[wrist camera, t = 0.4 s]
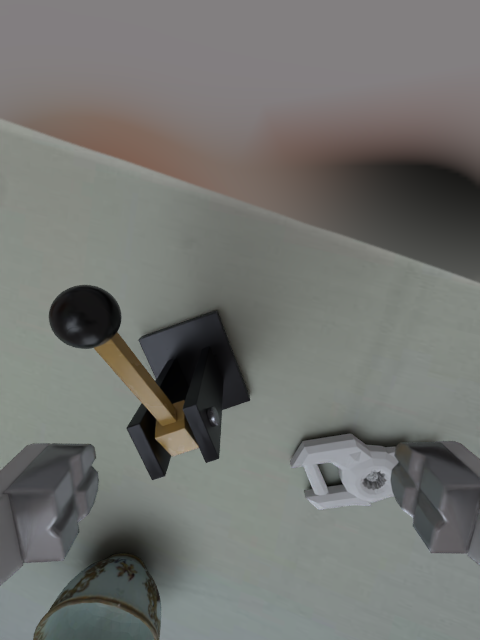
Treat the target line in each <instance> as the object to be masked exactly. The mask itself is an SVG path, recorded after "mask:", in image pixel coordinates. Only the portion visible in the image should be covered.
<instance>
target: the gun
mask: <svg viewBox="0 0 480 640" xmlns="http://www.w3.org/2000/svg"><path fill="white" fill-rule="evenodd" d="M395 449H396V447H383V446H377V445H366V444H364V443H363V442H362V441H360V440H359V439H358V438H356V437H355V436H354V435H353V434H351V433H350V434H344V435H337V436H331V437H325V438H319V439H312V440H306V441H302V443H301V444H300V446H299V448H298V449H297V451H296V452H295V454H294V456H293V457H292V459H291V460H290V465H291V468H295V467H302V466H303V467H304V469H305V472H306V474H307V476H308V479H309V481H310V484H311V486H312V488H313V489H310V490H304V493H305V497H306V498H307V499H308V500H309V501H310V502H311V503H312V504H313V505H314V506H315V507H316V508H317V509H318V510H322V509H329V508H336V507H343V506H350V505H363V506H371V504H370V503H371V502H377V501H379V500H382V499H385V498H388V497H392V496H394V494H393V492H392V486H391V481H390V480H391V472H392V469H393V468H394V467H395V466H396V465H397V463H398V461H397V459H396V458H395V456H394V454H395ZM328 462H331V463H332V464H334V465H335V466H337V467H338V468H339V476H340V479H341V481H342V483H343V485H336V486H330V487H327V486H326V483H325V481H324V479H323V476H322V474H321V472H320V469H319V467H318V465H317V464H322V463H328Z"/></svg>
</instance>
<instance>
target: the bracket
mask: <svg viewBox="0 0 480 640" xmlns="http://www.w3.org/2000/svg"><path fill="white" fill-rule="evenodd" d="M139 342H140V344H141V346H142V349H143V351H144V353H145V355H146V357H147V360H148V362H149V364H150V366H151V369H152V371H153V373H154V375H155V377H156V381H155V382H156V383H157V385H158V386H159V387H160V388H161V390H162V391H163V392H164V394H165V395H166V396H167V398H168V399H169V400H170V402H171V403H172V404H174V403H177V402H180V401H183V400H185V402H184V406H183V409H182V410H183V412H184V414H185V416H186V419H187V421H188V423H189V426H190V428H191V430H192V432H193V435H194V437H195V439H196V441H197V444H198V446H199V448H200V451H201V453H202V455H203V457H204V460H205V462H206V463H207V462H210V461H213V460H216V459H219V452H220V435H221V418H222V410H224V409H227V408H230V407H232V406H235V405H238V404H241V403H244V402H247V401H250V396H249V393H248V390H247V388H246V385H245V382H244V380H243V377H242V374H241V372H240V369H239V366H238V364H237V361H236V358H235V356H234V353H233V350H232V348H231V345H230V342H229V340H228V337H227V334H226V332H225V329H224V327H223V324H222V321H221V319H220V316H219V313H218V311H217V310H216V311H213V312H210V313H207V314H204V315H201V316H199V317H196V318H193V319H190V320H187V321H184V322H182V323H179V324H176V325H173V326H170V327H167V328H165V329H162V330H159V331H156V332H153V333H150V334H148V335H145V336H142V337H141V338H140V339H139ZM155 428H156V418H155V417H154V416H153V415H152V414H151V413H150V411H149V410H148V409H147V408H146V407H145V406H144V405H143V404H141V405H140V407H139V408H138V410H137V412H136V413H135V415H134V417H133V418H132V420H131V422H130V423H129V425H128V426H127V430H128V432H129V434H130V436H131V438H132V440H133V442H134V444H135V446H136V448H137V450H138V452H139V454H140V456H141V458H142V460H143V463H144V465H145V467H146V469H147V471H148V473H149V475H150V477H151V479H152V480H155V479H158V478H161V477H164V476H165V474H166V471H167V468H168V465H169V461H170V458H171V455H170V454H169V453H168V452H167V451H166V450H165V448H164V447H163V446H162V445H161V444H160V443H159V442H158V441H157V440H156V439H155Z"/></svg>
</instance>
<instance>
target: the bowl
mask: <svg viewBox="0 0 480 640" xmlns="http://www.w3.org/2000/svg"><path fill="white" fill-rule="evenodd" d="M160 627H161V601H160V596H159V593H158V589H157V586H156V584H155V582H154V580H153V578H152V577H151V575H150V574H149V572H148V571H146V568H145V565H144V563H143V562H142V561H141V560H140V559H139V558H138V557H136V556H134V555H131V554H124V553H121V554H115V555H112V556H110V557H109V558H107V559H105V560H102V561H99V562H97V563H94V564H93V565H91V566H89V567H87V568H86V569H84V570H83V571H81V572H80V573H79V574H78V575H77V576H76V577H75V578H74V579H72V580H71V581H70V582H69V584H68V585H67V586H66V587H65V588H64V589H63V591H62V592H61V593H60V595H59V596H58V598H57V599H56V601H55V602H54V604H53V605H52V607H51V608H50V610H49V611H48V613H47V614H46V615H45V616H44V617H43V618H42V619H41V621H40V622H39V624H38V626H37V627H36V630H35V633H34V638H33V640H159V637H160Z"/></svg>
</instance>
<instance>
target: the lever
mask: <svg viewBox="0 0 480 640" xmlns="http://www.w3.org/2000/svg"><path fill="white" fill-rule="evenodd" d="M49 322H50V326H51V328H52V330H53V332H54V334H55V335H56V336H57V337H58V338H59V339H60V340H61V341H62V342H64V343H66V344H67V345H69V346H72V347H75V348H82V349H89V348H94V349H95V350H96V351H97V352H98V353H99V355H100V356H101V357H102V358H103V359H104V360H105V361H106V363H107V364H108V365H109V366H110V367H111V368H112V369H113V370H114V372H115V373H116V374H117V375H118V376H119V377H120V378H121V380H122V381H123V382H124V383H125V384H126V385H127V386H128V388H129V389H130V390H131V391H132V392H133V393H134V394H135V396H136V397H137V398H138V399H139V400H140V401H141V402H142V404H143V405H144V406H145V407H146V408H147V409H148V410H149V411H150V413H151V414H152V415H153V416H154V417H155V418H156V428H155V439H156V440H157V441H158V442H159V443H160V444H161V445H162V446H163V447H164V448H165V450H166V451H167V452H168V453H169V454H170V455H171V456H176V455H179V454H182V453H185V452H188V451H191V450H194V449H197V448H199V446H198V444H197V441H196V439H195V437H194V435H193V432H192V430H191V428H190V426H189V423H188V421H187V419H186V416H185V414H184V412H183V410H182V409H183V406H184V402H185V400H183V401H180V402H177V403H174V404H172V403H171V402H170V400H169V399H168V398H167V396H166V395H165V394H164V392H163V391H162V390H161V388H160V387H159V386H158V385H157V383H156V382H155V381H154V379H153V378H152V377H151V375H150V374H149V373H148V372H147V370H146V369H145V368H144V366H143V365H142V364H141V362H140V361H139V360H138V358H137V357H136V356H135V355H134V353H133V352H132V351H131V349H130V348H129V347H128V345H127V344H126V343H125V341H124V340H123V339H122V338H121V336H120V335H119V334H118V332H117V331H118V329H119V327H120V324H121V310H120V307H119V305H118V303H117V301H116V300H115V298H114V297H113V296H112V295H111V294H110V293H108V292H107V291H105V290H103V289H101V288H99V287H96V286H91V285H79V286H74V287H71V288H69V289H66V290H65V291H63V292H62V293H60V294H59V295H58V296H57V297H56V299H55V300H54V301H53V303H52V305H51V308H50V311H49Z"/></svg>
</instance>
